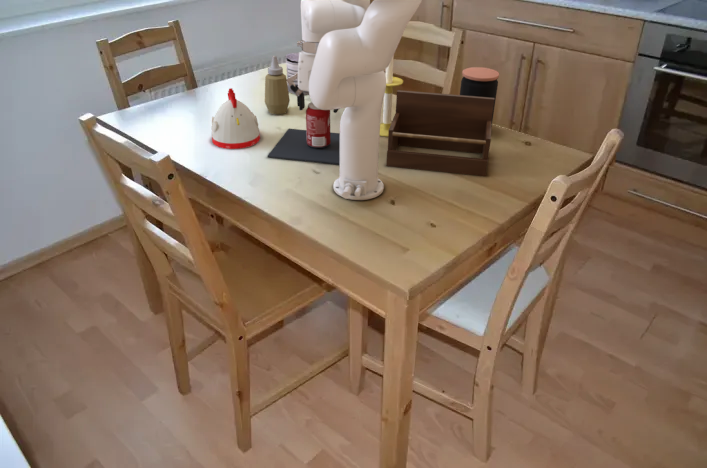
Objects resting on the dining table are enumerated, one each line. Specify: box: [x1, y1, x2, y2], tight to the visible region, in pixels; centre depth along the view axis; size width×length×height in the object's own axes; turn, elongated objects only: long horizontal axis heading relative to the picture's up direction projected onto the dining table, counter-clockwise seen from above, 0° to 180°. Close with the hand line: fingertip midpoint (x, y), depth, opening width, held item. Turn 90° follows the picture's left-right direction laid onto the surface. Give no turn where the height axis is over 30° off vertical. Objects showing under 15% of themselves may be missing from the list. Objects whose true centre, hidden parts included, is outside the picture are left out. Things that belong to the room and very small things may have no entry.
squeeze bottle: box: [264, 55, 291, 115], centre depth 186 cm, size 8×8×18 cm
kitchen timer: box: [210, 87, 261, 150], centre depth 168 cm, size 14×14×15 cm
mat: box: [267, 128, 340, 166], centre depth 167 cm, size 20×24×1 cm
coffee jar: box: [459, 66, 500, 128], centre depth 175 cm, size 11×11×18 cm
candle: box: [379, 54, 404, 138], centre depth 170 cm, size 10×10×32 cm
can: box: [284, 52, 309, 96], centre depth 206 cm, size 11×11×12 cm
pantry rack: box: [385, 89, 494, 177], centre depth 158 cm, size 15×26×16 cm, turn 78°
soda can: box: [305, 101, 331, 149], centre depth 164 cm, size 7×7×12 cm
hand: (319, 110), depth 161 cm, fingers open, 9 cm apart
